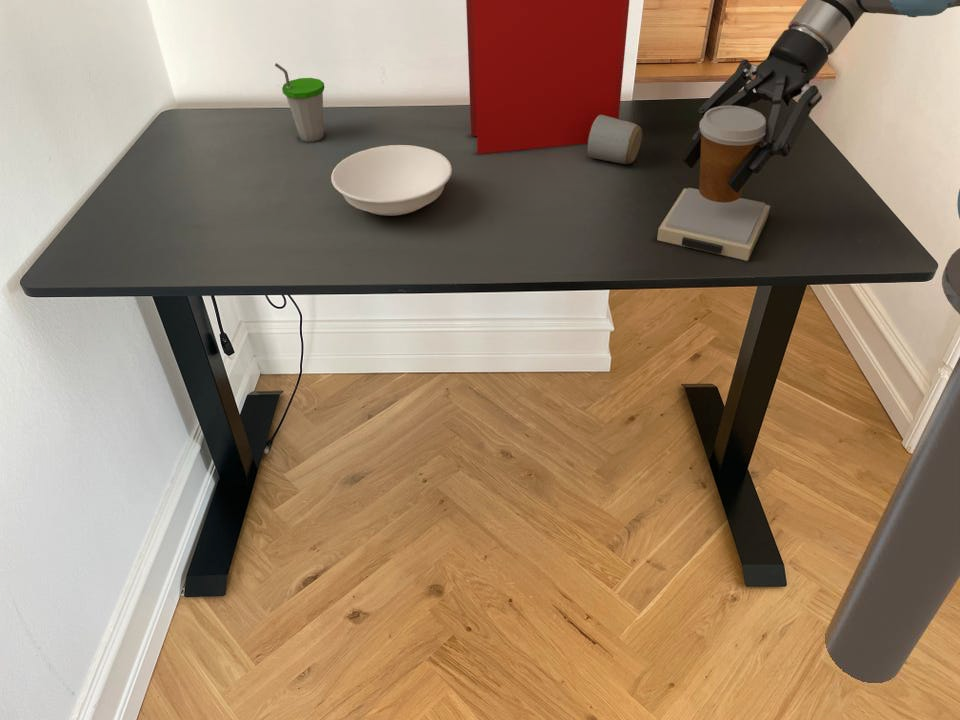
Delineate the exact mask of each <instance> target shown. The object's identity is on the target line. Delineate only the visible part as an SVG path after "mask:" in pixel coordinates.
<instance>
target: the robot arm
mask: <svg viewBox="0 0 960 720" xmlns="http://www.w3.org/2000/svg"><path fill="white" fill-rule="evenodd" d="M957 7H960V0H806V1H805V2H804V3H803V5H801V7H800V8H799V10H797V12H796V14H795V15H794V16H793V18H792V19H791V20H790V21H789V23H788V25H787V29H785V30H783V31H782V33H781V35H780V36H779V37H778V38H777V40H776V41H775V42H774V44H773V45H772V47H771V48H770V50H769V53H768V56H767V57H766V59H764V60H763V61H762V62H760V63H759V64H755V63H751V62H750V61H749V59H747V58H745V59H743V60H741V62H740V63H739V65H738V66H737V68H736V70H735V72H734V73H733V74H732V75H731V76H730V77H728V79H727V80H726V81H725V82H724V83H723V84H722V85H721V86H720V87H719V88H718V89H717V90H715V92H714V93H712V95H711V96H710V97H709V98H708V99H707V100H706V101H705V102H704V103H703V104H702V105H701V106H699V108H698V113H699V114H700V115H701V117H702V118H703V117H704V114H705V113H706V112H707V111H708V110H709V109H712V108H714V107H719V106H741V107H746V108H748V106H750V105H751V104H754V103H758V102H759V101H761V100H763V101H769V102H770V103H771V104H772V106H771V110H770V113H769V117H768V121H767V123H766V126H767V128H766V132H765V133H766V134H765V136H764V137H763V139H762V141H761V142H760V145H759V146H758V145H755V146H754V147H753V149H752V150H751V151H750V153H749V154H748V155H747V157H746V158H745V159H744V161H743V162H742V163H741V165H740V166H739V167H738V169H737V170H736V171H735V173H734V174H733V175H732V177H731V178H730V179H729V181H728V182H727V183H728V185H729V186H730V187H731V188H732V189H733V190H734V191H735V192H737V193H738V192H739V191H740V189H741V188H742V187H743V185H744V184H745V185H746V183H747V182H748V180H749V179H750V177H751V176H752V175H753V174H755V175H757V174H758V173H760V172H761V170H762V169H763V168H764V166H765V165H766V163H768V161H769V160H770V159H771V158H772V157H773V156H776V155H777V156H781V157H783V158H785V157H788V156H789V154H790V152H791V150H792V148H793V147H794V145H795V143H796V141H797V139H798V137H799V135H800V133H801V131H802V129H803V127H804V126H805V124H806V121H807V119H808V118H809V116H810V114H811V112H812V110H813V109H814V108H815V107H816V106H817V105H818V104H819V103H820V101H822V99H823V95H822V93H821V92H820V90H819V88H818V86H817V85H815V84H813V85H810V82H811V80H814V79H815V78H816V77H817V75H818V74H819V73H820V71H821V70H822V69H823V68H824V66H825V65H826V63H827V62H828V60H829V56H831V55H833V53H834V52H835V51H836V50H837V48H838V47H839V46H840V44H841V43H842V42H843V41H844V39H845V38H846V36H847V35H848V34H849V32H850V31H851V30H852V29H853V27H854V26H855V25H856V23H857V22H858V21H859V19H860V18H861V17H862V16H863V14H883V15H896V16H907V17H908V18H918V17H933V16H938V15H940V14H943V12H945V11H946V10H947V9H950V8H957ZM798 96H799V99H798V100H797V101H796V104H795V105H794V107H793V109H792V111H791V113H790V115H789V117H788V119H787V120H786V123H785V119H786V116H787V113H789V110H790V106H791V102H792V99H794V98H795V97H798ZM784 123H785V125H784ZM691 141H692V142H691V144H690V145H689V147H688V148H687V149H686V151H685V152H684V153H683V154H682V156H681V158H680V159H681V160H682V162H684V164H685V165H686V166H687V167H688V168H690V169H693V168H694V166H695V165H696V163H697V162H698V161H699V159H700V158H701V131H700V127H698V128H697V130H696V131H695V133H694V134H693V136H692V138H691ZM956 203H957V204H956V205H957V215H958V219H960V189H959V190H958V195H957V202H956Z"/></svg>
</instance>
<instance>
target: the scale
mask: <svg viewBox="0 0 960 720" xmlns="http://www.w3.org/2000/svg"><path fill="white" fill-rule="evenodd" d="M770 209H771V205H769V204H766V202H763V201H757V200H752V199H748V198H742V197H740V198H739V199H738V200H736V201H733V202H726V203H722V202H714V201H711V200H708V199H706V198H704V197H703V196H702V195H701V194H700V192H699V188H692V187H687V188H686V187H685V188H683V190H682V191H681V193H680V194H679V196H678V197H677V199H676V201H675V202H674V204H673V205H672V207H671V209H670V210H669V211H668V213H667V215H666V216H665V218H664V219H663V220H662V222H661V224H660V226H659V227H658V229H657V230H658V231H657V238H656V239H657V241H660V242H664V243H666V244H667V243H668V244H672V245H676V246H681V247H684V248H689V249H694V250H698V251H702V252H707V253H711V254H716V255H720V256H725V257H728V258H733V259H738V260H742V261H745V262H748V261H749V259H750V257H751V255H752V253H753V250H754V248H755V246H756V244H757V242H758V240H759V238H760V235H761V233H762V231H763V228H764V227H765V224H766V222H767V220H768V217H769V213H770Z"/></svg>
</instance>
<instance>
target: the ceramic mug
mask: <svg viewBox="0 0 960 720" xmlns="http://www.w3.org/2000/svg"><path fill="white" fill-rule="evenodd" d="M642 137H643V130H642V128H641V126H640V125H638V124H636V123H634V122H631V121H627V120H623V119H616V118H612V117H608V116H605V115H599V116H598V117H597V118H596V119H595V121H594V123H593V125H592V127H591V131H590V134H589V139H588V143H587V156H588V157H589V158H590V159H596V160H601V161H605V162H612V163H616V164H621V165H630V164H633V162H634V161H635V160H636V158H637V156H638V154H639V151H640V147H641V144H642Z"/></svg>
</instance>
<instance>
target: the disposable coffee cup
mask: <svg viewBox="0 0 960 720" xmlns="http://www.w3.org/2000/svg"><path fill="white" fill-rule="evenodd" d="M698 123H699V124H698V125H699V127H700V131H701V157H700V158H699V159H700V161H699V162H700V163H699V184H698V185H699V188H698V190H699V192H700V194H701V195H702V196H703V197H704V198H706V199H708V200H711V201H714V202H722V203H726V202H733V201H736V200H738V199H739V198H742V193H743V191H744V189H745V186H746V183H745V184H744V185H743V187H742V188H741V189H740V191H739V192H738V193H737V192H735V191H734V190H733V189H732V188H731V187H730V186H729V185H728V183H727V182H728V181H729V179H730V178H731V177H732V175H733V174H734V173H735V171H736V170H737V169H738V167H739V166H740V165H741V163H742V162H743V161H744V159H745V158H746V157H747V155H748V154H749V153H750V151H751V150H752V149H753V147H754V146H755V145H758V146H761V144H760V142H762V141H763V139H764V136H765V134H766V133H765V132H766V128H767V119H766V117H765V115H764V114H762V113H761V112H760V111H758V110H755V109H753V108H750V107H741V106H719V107H714V108H712V109H709V110H708V111H707V112H706V113H705V114H704V117H702V118H701V119H700V121H699V122H698ZM699 127H698V128H699Z"/></svg>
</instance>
